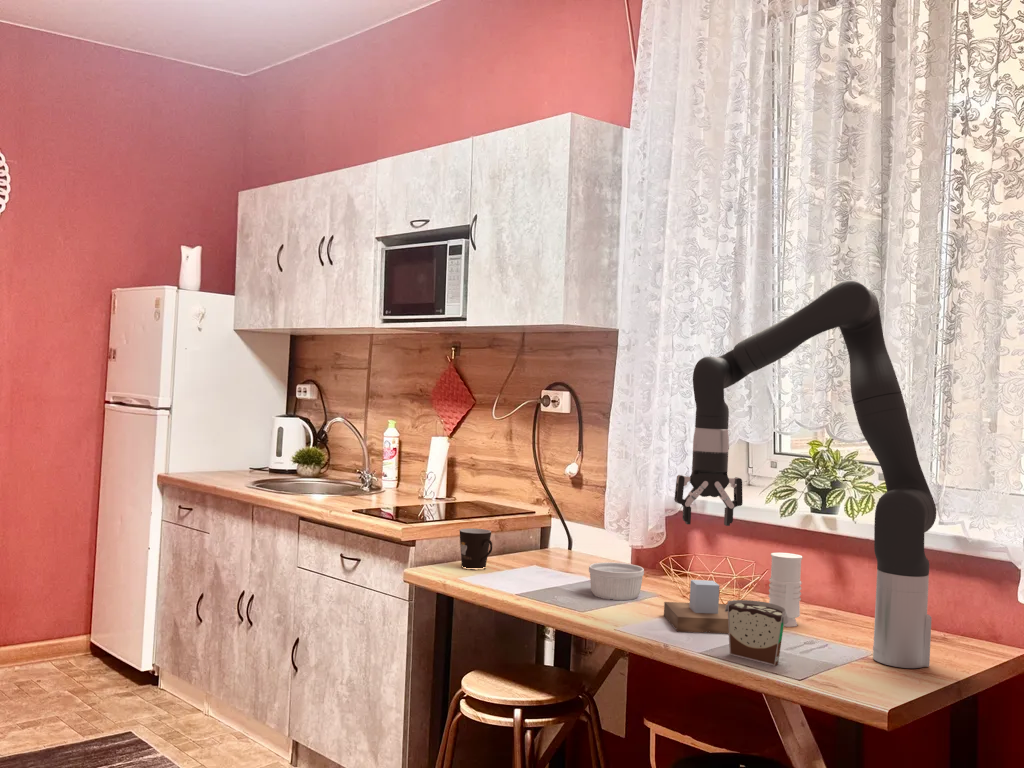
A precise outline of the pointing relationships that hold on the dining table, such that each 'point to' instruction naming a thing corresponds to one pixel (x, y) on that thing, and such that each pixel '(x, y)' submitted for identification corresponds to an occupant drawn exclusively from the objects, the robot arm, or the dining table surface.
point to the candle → (786, 584)
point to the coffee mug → (475, 547)
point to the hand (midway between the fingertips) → (707, 524)
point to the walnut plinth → (696, 618)
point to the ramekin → (616, 580)
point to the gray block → (704, 596)
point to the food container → (755, 630)
